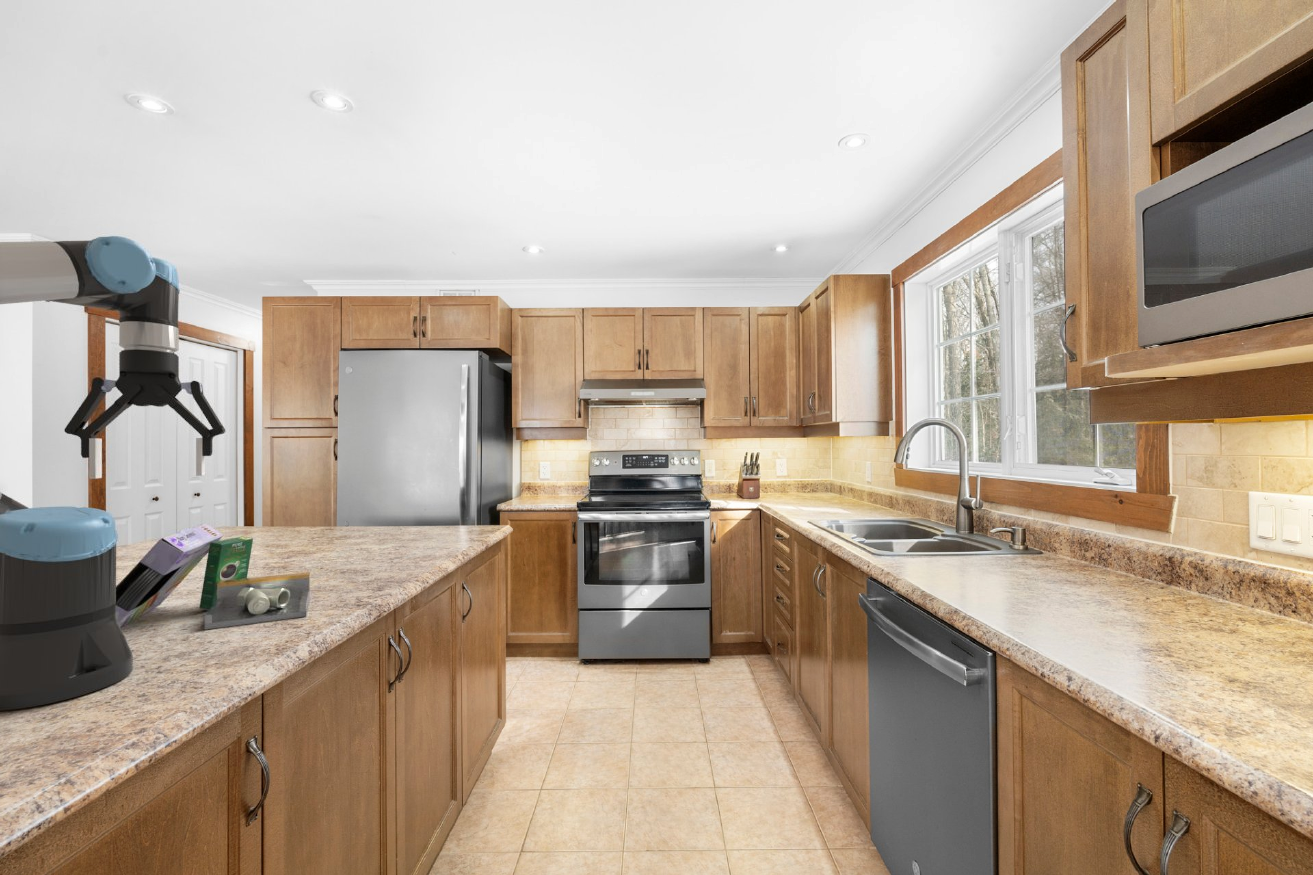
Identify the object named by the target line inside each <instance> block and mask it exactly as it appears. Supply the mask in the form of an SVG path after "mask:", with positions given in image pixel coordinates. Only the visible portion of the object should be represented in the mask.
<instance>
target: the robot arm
mask: <svg viewBox="0 0 1313 875" xmlns="http://www.w3.org/2000/svg"><path fill="white" fill-rule="evenodd" d="M179 285H180V284H179V276H178V270H177V268H176V266H175V265H174V264H173V263H170V261H167V260H164V259H161V258H158V257H153V256H152V254H150V252H149V251H148V250H147V249H146V248H145V247H144V246H143V245H142V244H140V243H138V242H137V241H135V240H132V239H130V238H127V237H125V236H119V235H110V236H99V237H95V238H93V239H91V240H59V241H49V240H46V241H45V240H43V241H41V240H38V241H37V240H36V241H0V305H7V304H8V305H9V304H10V305H11V304H19V303H21V304H22V303H30V302H31V303H32V302H33V303H34V302H42V301H43V302H46V303H47V302H48V303H50V302H54V303H60V304H67V305H72V306H73V305H74V306H80V307H87V308H93V309H101V310H105V311H111V312H113V311H115V312H118V316H119V318H118V323H119V330H118V331H119V333H118V334H119V336H118V337H119V340H118V341H119V343H118V346H119V347H121V348H123V350H121V351H119V353H118V354H119V355H118V356H119V358H118V360H119V363H118V364H119V367H118V368H119V374H118V378H117V380H113V379H105V378H103V377H94V378H92V382H91V388H90V391H89V392H88V394H87V396H86V397H85V399H84V400H83V401H82V403H81V404H80V406H79V408H78V409H77V410H76V412H75V413H74V415H73V416H72V417H71V419H70V421H69V422H68V423H67V425H65V428H64V432H65V434H68V435H72V436H75V437H78V438H79V439H80V455H81V457H82V458H83V459H88V461H89V462H88V475H89V476H88V479H90V480H94V479H102V477H103V463H102V460H103V451H102V450H103V449H102V448H103V443H102V442H103V441H102V440H103V439H102V438H98V437H97V435H99V434H100V433H101V432H102V431H103V430H104V429H105V428H106V427H107V426H109V425H110V424H112V422H113V421H114V420H115V419H117V417H119V416H120V415H121V414H123V412H125V411H126V410H127V409H129V408H130V407H131V406H136V407H150V406H153V407H159V408H160V407H163V408H164V407H165V406H168V407H169V408H171V409H173V411H174V412H176V413H177V414H178V415H179V416H180V417H181V418H182V419H183V420H184V421H185V422H186V423H187V424H189V425H190V427H192V428H193V429H194V430H195V431H196V432H197V433H198V434H199V435H200V436H201V437H196V438H195V466H196V467H195V476H196V477H199V476H200V477H201V476H205V475H206V457H211V456H212V455H213V439H214V437H217V436H220V435H223V434H225V433H226V429H225V427H224V426H223V423H222V422H221V420H220V418H219V417H218V416H217V414H216V412H215V411H214V409H213V407H212V406H211V405H210V403H209V402H208V401H209V400H207V398H206V396H205V394H204V389H203V384H202V382H200V381H197V380H192V381H190V382H189V381H188V382H187V381H186V382H181V380H180V378H179V377H180V376H179V375H180V373H179V372H180V370H179V369H180V368H179V367H180V365H179V364H180V362H179V361H180V360H179V357H180V356H179V355H178V354H176V352H178V351H179V342H180V340H179V336H180V333H179V330H180V329H179V303H180V302H179V299H180V291H181V290H180V286H179ZM114 388H116V389H117V390H118V391H119V392H120V393H121V396H119V397H118V398H117V399H116V400H115V401H114V403H112V404H111V405H110V406H109V407H108V408H107V409H105V411H103V412H102V413H101V414H100V415H99V416H98V417H96V418H95V419H94V420H93V421H91V423H89V424H88V425H87V423H88V422H89V420H90V418H91V417H92V416H93V415H94V412H95V411H96V409H98V407H99V405H100V404H101V402H102V401H103V399H104V398H105V396H106V394H107V393H109V392H111V391H112V389H114ZM182 390H185V392H186V393H187V394H189V395H192V398H193V399H194V401H195V402H196V405H197V406H198V407H199V409H200V411H201V412H202V414H203V416H204V417H205V419H206V420H207V421H208V423H209V425H210V426H211V429H209V428H208V427H207V426H206V425H205V424H204V423H203V422H202V421H201V420H199V418H197V417H196V416H195V415H194V414H193V413H192V412H191V411H190V410H189V409H188V408H187V407H186V406H185V405H184V404H183V403H182V402H181V401H180V400H179V399H178V398H177V396H178V395H179V393H181V392H182ZM86 425H87V426H86ZM85 426H86V427H85ZM118 538H119V536H118V533H117V530H116V520H115V518H114V517H113V515H112V514H111V513H110V512H108V511H106V510H103V509H99V508H93V507H85V506H84V507H77V506H44V507H43V506H41V507H28V506H27V505H24V504H22V503H21V502H18V501H17V500H15V499H14V498H12V497H10V496H8V495H6V494H4V493H2V492H1V491H0V712H4V711H12V710H13V711H14V710H21V709H26V708H28V709H29V708H32V707H38V706H43V705H48V704H52V703H58V702H62V701H65V700H69V699H73V698H76V697H80V696H83V695H86V694H90V693H93V692H95V691H99V690H102V689H104V688H106V687H109V686H112V685H113V684H115V683H118V682H120V681H121V680H123V679H126V677H128V676H129V675H131V673H132V672H133V670H134V666H133V665H134V662H133V661H134V660H133V652H132V649H131V648H130V645H129V643H128V641H127V639H126V637H125V635H124V633H123V631H122V627H121V628H120V626H119V624H118V622H117V620H116V586H117V542H118Z"/></svg>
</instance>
